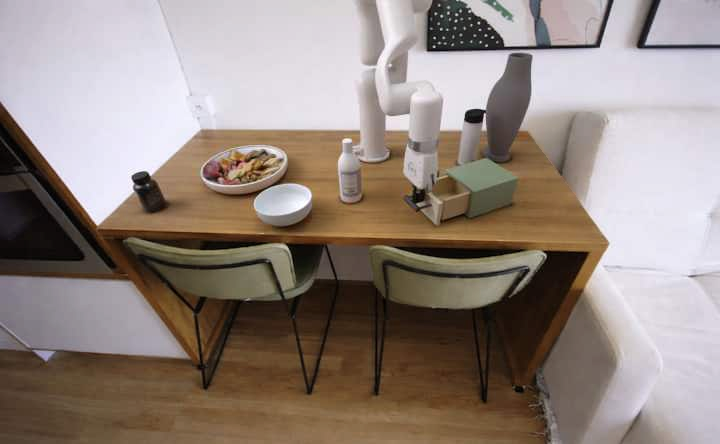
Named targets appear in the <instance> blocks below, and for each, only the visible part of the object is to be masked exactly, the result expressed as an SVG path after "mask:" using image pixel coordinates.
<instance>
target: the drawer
mask: <svg viewBox="0 0 720 444" xmlns="http://www.w3.org/2000/svg"><path fill="white" fill-rule="evenodd" d="M471 195H472V193H471V192H470V191H469V190H468V189H466V188H465V187H464V186H462V185H461V184H460V183H458V182H457V181H456V180H455V179H453V178H452V177H451V176H449V175H446V176H444V175H443V176H439V178H437V180H436V184H435V186H432V192H431V193H426V192H425V200H424V202H421V203H417V204H416V203H415V202H414V201H413V200H412V194H410V195H408V194H405V195H403V197H402V199H403V201H405V203H406V204H407V205H408V206H409V207H410V208H411V209H412V210H413V211H414V212H415V213H420V212H422V213H423V214H424V215H425V216H426V217H427V218H428V219H429V220H430V221H431V222H432V223H433V224H434V225H435V226H439V225H441V221H444V220H447V219H450V218H453V217H456V216H459V215H462V214H463V215H464V213H466V212H468V210H469V205H470V200H471Z"/></svg>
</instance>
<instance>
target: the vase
mask: <svg viewBox="0 0 720 444" xmlns="http://www.w3.org/2000/svg"><path fill="white" fill-rule="evenodd" d="M533 58H534V55H533V54H531V53H528V52H511V53H509V54H508V56H507V60H506V64H505V68H504V71H503V73H502V75H501V77H500V78H499V79H498V80H497V81H496V82H495V84H494V85H493V86H492V88H491V90H490V92H489V95H488V97H487V102H486V106H485V110H486V114H485V128H486V137H487V139H486V140H487V145H486V146H484V147H483V148H482V153H481V154H482V156H483V157H484V159H485V158H488V159H489V160H491V161H493V162H495V163H496V162H497V163H504V162H507V161H509V160H510V158H511V152H510V149H511V147H512V146H513V143H514V142H515V140H516V138H517V136H518V134H519V131H520V129H521V127H522V124H523V122H524V119H525V116H526V114H527V112H528V109H529V106H530V103H531V98H532V64H533Z"/></svg>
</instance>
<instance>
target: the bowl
mask: <svg viewBox="0 0 720 444" xmlns="http://www.w3.org/2000/svg"><path fill="white" fill-rule="evenodd" d="M288 165H289V163H288V157H287V154H286V153H285V152H284V151H283V150H282V149H280V148H279V147H275V146H271V145H266V144H252V145H244V146H237V147H234V148H229V149H227V150H224V151H222V152H220V153H218V154H216V155H213V156H212V157H211V158H210V159H208V160H207V161H206V162H205V163H204V164H203V165H202V166H201V169H200V176H201V179H202V181H203V183H204V184H205V185H206V186H207V187H208V188H209V189H211V190H213V191H215V192H218V193H221V194H224V195H225V194H226V195H244V194H245V195H247V194H252V193H255V192H259V191H261V190H265V189H266V188H270V187H271V186H272V185H274V184H275V183H277V182H278V181H279V180H280V179H282V177H283V176H284V175H285V173H286V171H287V169H288Z"/></svg>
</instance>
